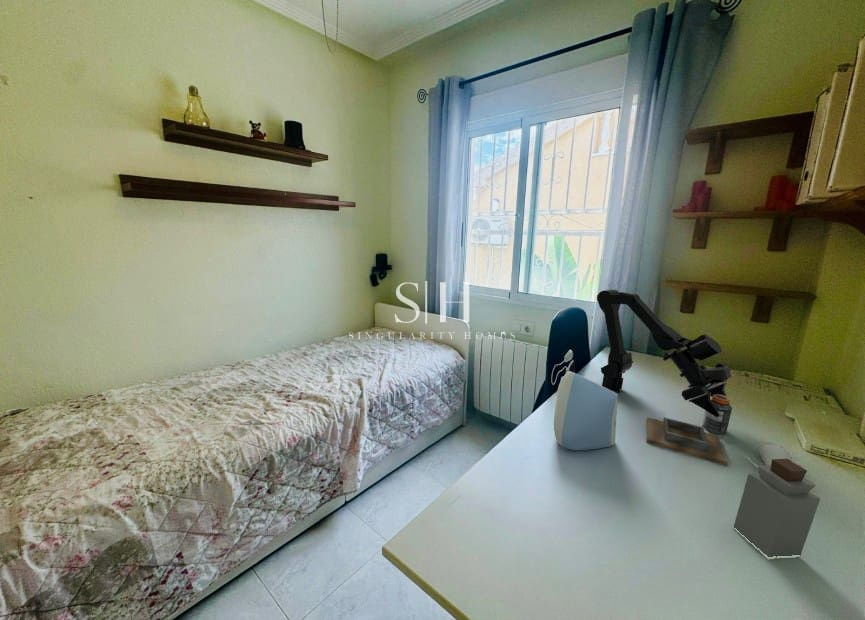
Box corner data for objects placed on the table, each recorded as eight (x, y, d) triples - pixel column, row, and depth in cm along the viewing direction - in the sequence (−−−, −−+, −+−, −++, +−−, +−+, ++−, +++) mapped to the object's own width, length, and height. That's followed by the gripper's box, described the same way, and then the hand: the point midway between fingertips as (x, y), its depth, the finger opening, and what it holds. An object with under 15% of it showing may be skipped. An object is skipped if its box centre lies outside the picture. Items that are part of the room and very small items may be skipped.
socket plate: (646, 442, 96) (648, 431, 96) (646, 420, 108) (648, 410, 107) (726, 466, 87) (729, 453, 86) (717, 439, 99) (719, 428, 98)
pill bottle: (716, 424, 106) (724, 392, 104) (731, 435, 100) (739, 402, 98) (697, 423, 107) (704, 391, 104) (710, 434, 101) (718, 401, 98)
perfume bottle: (733, 528, 69) (754, 453, 64) (762, 526, 69) (785, 452, 65) (767, 559, 62) (793, 478, 58) (799, 557, 63) (827, 477, 58)
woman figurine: (808, 451, 87) (813, 491, 75) (803, 465, 88) (807, 506, 76) (748, 432, 95) (744, 465, 83) (744, 445, 96) (740, 480, 84)
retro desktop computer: (571, 345, 104) (631, 359, 93) (572, 401, 114) (626, 420, 102) (533, 391, 89) (599, 414, 77) (538, 452, 98) (597, 480, 87)
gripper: (701, 361, 97) (742, 412, 90) (725, 350, 106) (763, 395, 100) (666, 376, 105) (701, 424, 98) (691, 364, 115) (724, 407, 108)
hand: (723, 412), depth 101 cm, fingers open, 9 cm apart
